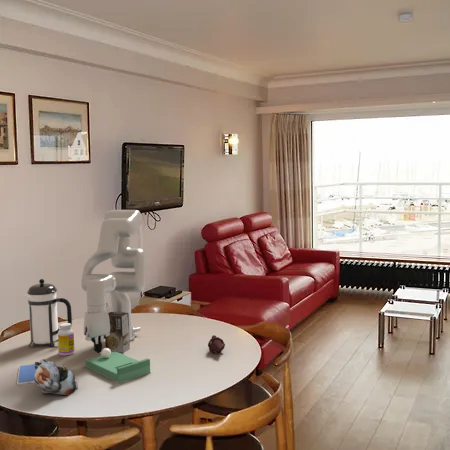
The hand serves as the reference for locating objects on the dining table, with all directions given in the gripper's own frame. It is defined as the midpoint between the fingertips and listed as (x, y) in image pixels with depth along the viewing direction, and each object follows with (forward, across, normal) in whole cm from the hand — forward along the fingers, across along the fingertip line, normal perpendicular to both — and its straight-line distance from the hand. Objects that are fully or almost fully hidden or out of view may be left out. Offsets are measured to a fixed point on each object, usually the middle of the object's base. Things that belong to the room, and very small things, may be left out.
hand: (98, 351), depth 231 cm
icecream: (+4, -41, +27) cm, 49 cm away
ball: (+1, 0, +6) cm, 6 cm away
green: (+4, 0, +14) cm, 14 cm away
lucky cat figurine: (+4, +27, +16) cm, 32 cm away
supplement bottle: (+4, +4, -19) cm, 20 cm away
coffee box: (+4, -14, -7) cm, 16 cm away
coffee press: (+4, +3, -38) cm, 39 cm away
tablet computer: (+5, +24, -6) cm, 26 cm away
